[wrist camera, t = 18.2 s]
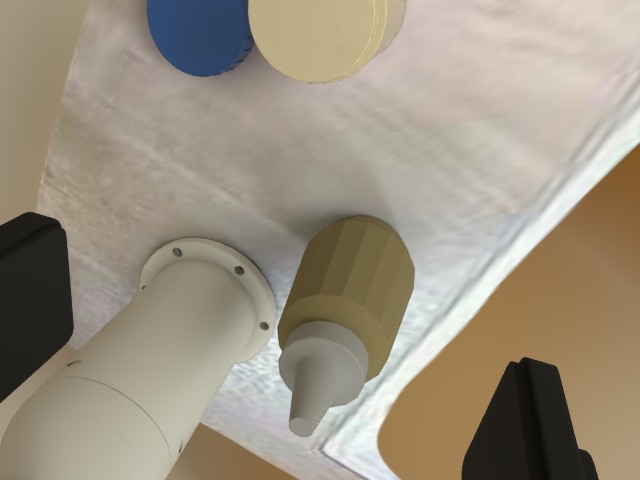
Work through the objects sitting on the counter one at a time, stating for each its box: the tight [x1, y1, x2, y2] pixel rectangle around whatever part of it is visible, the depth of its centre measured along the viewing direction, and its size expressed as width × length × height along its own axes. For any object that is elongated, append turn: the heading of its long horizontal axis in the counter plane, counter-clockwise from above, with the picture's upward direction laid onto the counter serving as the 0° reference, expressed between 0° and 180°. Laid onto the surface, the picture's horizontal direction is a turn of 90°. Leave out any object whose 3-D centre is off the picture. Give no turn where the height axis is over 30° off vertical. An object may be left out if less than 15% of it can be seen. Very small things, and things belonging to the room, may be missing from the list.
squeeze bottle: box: [277, 216, 415, 437], centre depth 31 cm, size 8×8×18 cm
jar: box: [248, 0, 406, 84], centre depth 27 cm, size 6×6×11 cm
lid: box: [147, 0, 254, 77], centre depth 33 cm, size 7×7×2 cm
